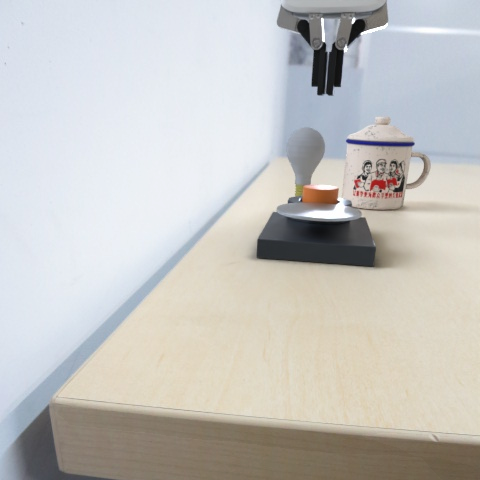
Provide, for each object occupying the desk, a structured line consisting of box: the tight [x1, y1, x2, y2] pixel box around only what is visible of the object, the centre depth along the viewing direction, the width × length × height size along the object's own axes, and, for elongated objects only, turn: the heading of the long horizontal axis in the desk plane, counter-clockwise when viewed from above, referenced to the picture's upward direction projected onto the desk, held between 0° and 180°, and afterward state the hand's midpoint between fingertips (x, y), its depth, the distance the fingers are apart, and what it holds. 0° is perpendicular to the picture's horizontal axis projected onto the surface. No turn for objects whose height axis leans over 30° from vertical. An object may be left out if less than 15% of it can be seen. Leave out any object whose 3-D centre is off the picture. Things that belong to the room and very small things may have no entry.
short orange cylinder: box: [302, 184, 340, 204], centre depth 51 cm, size 4×4×2 cm
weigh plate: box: [276, 202, 363, 222], centre depth 45 cm, size 8×8×1 cm
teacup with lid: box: [341, 116, 432, 211], centre depth 68 cm, size 12×9×12 cm
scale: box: [256, 196, 377, 267], centre depth 48 cm, size 14×10×4 cm
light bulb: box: [285, 126, 326, 197], centre depth 70 cm, size 5×5×10 cm
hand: (325, 94), depth 51 cm, fingers closed
